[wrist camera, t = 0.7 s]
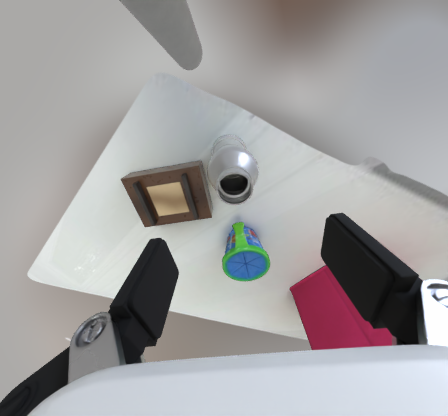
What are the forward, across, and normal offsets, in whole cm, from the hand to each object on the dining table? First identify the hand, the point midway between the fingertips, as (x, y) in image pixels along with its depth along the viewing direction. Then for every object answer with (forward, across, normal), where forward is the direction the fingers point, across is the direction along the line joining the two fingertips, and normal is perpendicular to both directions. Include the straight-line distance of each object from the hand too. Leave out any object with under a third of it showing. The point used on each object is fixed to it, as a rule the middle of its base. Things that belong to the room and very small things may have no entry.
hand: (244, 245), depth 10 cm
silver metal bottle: (+28, 0, 0) cm, 28 cm away
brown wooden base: (+28, +14, +6) cm, 32 cm away
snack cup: (+28, 0, +22) cm, 36 cm away
